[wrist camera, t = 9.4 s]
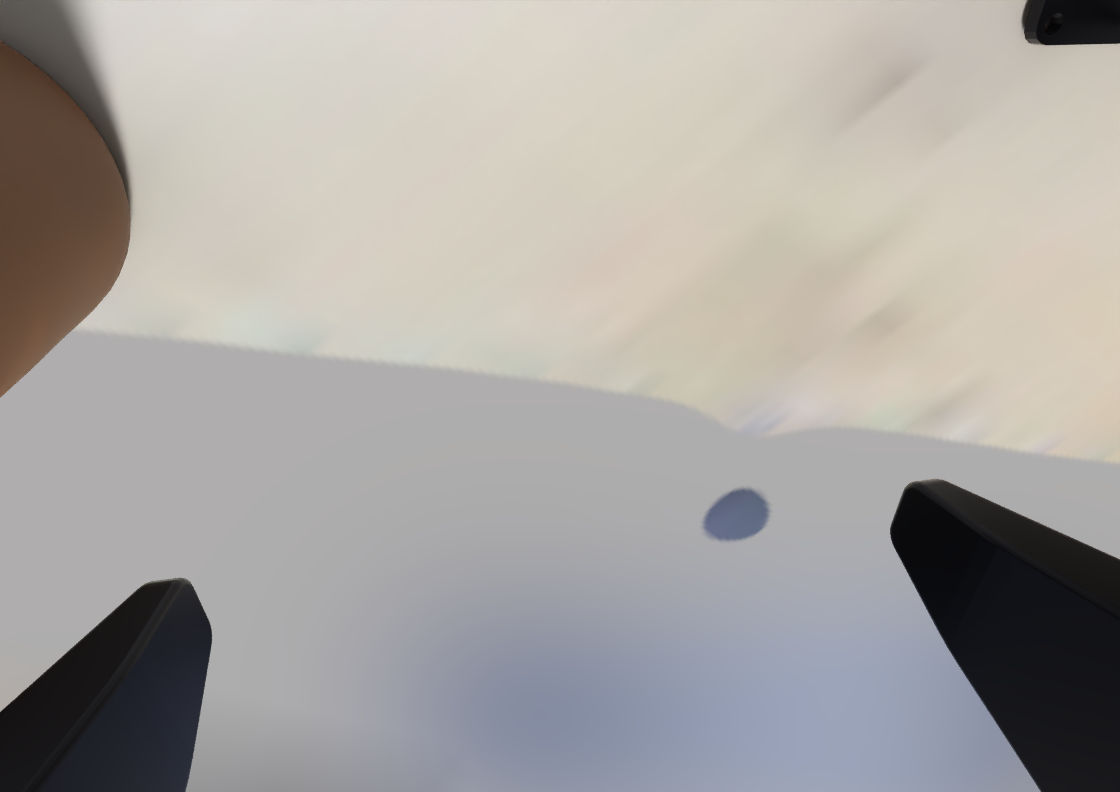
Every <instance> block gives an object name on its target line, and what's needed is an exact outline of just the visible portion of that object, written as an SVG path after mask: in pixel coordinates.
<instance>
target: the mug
mask: <svg viewBox="0 0 1120 792" xmlns="http://www.w3.org/2000/svg"><path fill="white" fill-rule="evenodd" d="M129 240H130V212H129V205H128V198H127V195H126V191H125V188H124V184H123V181H122V177H121V175H120V173H119V170H118V168H117V166H116V163H115V161H114V159H113V156H112V155H111V153H110V151H109V149H108V148H107V146H106V144H105V142H104V140H103V139H102V137H101V135H100V134H99V133H98V131H97V130H96V128H95V127H94V126H93V124H92V123H91V121H90V120H89V119H88V117H87V116H86V114H85V113H84V112H83V111H82V110H81V109H80V108H79V106H78V105H77V104H76V103H75V102H74V101H73V100H72V98H71V97H70V96H69V95H68V94H67V93H66V92H65V91H64V90H63V89H62V88H61V87H60V86H59V85H58V84H57V83H55V82H54V81H53V80H52V79H51V78H50V77H49V76H48V75H47V74H46V73H45V72H43V71H42V70H41V69H39V68H38V67H37V66H36V65H34V64H33V63H32V62H31V61H29V60H28V59H27V58H26V57H24V56H23V55H21V54H20V53H18V52H17V51H15V50H14V49H12V48H11V47H9V46H8V45H6V44H5V43H3V42H2V41H0V397H1V396H2V395H4V394H5V393H6V392H7V391H8V390H9V389H10V388H11V387H12V386H13V385H14V384H16V383H17V382H18V381H19V380H20V379H21V378H22V377H23V376H24V375H26V374H27V373H28V372H29V371H30V370H31V369H32V368H33V367H34V366H35V365H36V364H37V363H38V362H39V361H40V360H41V359H42V358H43V357H44V356H45V355H46V354H47V353H48V352H49V351H50V350H51V349H52V348H53V347H54V346H55V345H57V344H58V343H59V342H60V341H61V340H62V339H63V338H64V337H65V336H66V335H67V334H68V333H69V332H70V331H71V330H73V329H74V328H75V327H76V326H77V325H78V324H79V323H80V322H81V321H82V320H84V319H85V318H86V317H87V316H88V315H89V314H90V313H91V312H92V311H93V310H94V309H95V307H96V306H97V305H98V304H99V303H100V302H101V301H102V299H103V298H104V297H105V296H106V295H107V293H108V292H109V291H110V290H111V288H112V286H113V285H114V283H115V281H116V280H117V278H118V276H119V274H120V271H121V269H122V266H123V263H124V261H125V258H126V255H127V251H128V246H129Z"/></svg>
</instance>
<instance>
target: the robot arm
mask: <svg viewBox="0 0 1120 792" xmlns="http://www.w3.org/2000/svg"><path fill="white" fill-rule="evenodd" d="M1049 17H1051V21H1050V24H1049V26H1048V28H1047V29H1046V30H1045V24H1046V22H1047V20H1048V18H1049ZM1024 34H1025V39H1026V40H1027V41H1028V42H1029V43H1031V44H1036V45H1076V44H1118V43H1120V0H1033V3H1032V6H1031V9H1030V12H1029V15H1028V18H1027V21H1026V24H1025V30H1024ZM890 534H891V540H892V543H893V546H894V548H895V550H896V552H897V553H898V555H899V557H900V559H901V561H902V563H903V565H904V567H905V569H906V570H907V573H908V574H909V576H910V578H911V580H912V582H913V584H914V586H915V588H916V590H917V592H918V593H919V595H920V597H921V599H922V601H923V603H924V605H925V607H926V609H927V611H928V613H929V614H930V616H931V618H932V620H933V622H934V624H935V626H936V628H937V630H938V631H939V633H940V635H941V637H942V638H943V640H944V642H945V644H946V646H947V648H948V649H949V651H950V652H951V654H952V656H953V657H954V659H955V660H956V662H957V664H958V665H959V667H960V668H961V670H962V671H963V673H964V674H965V676H966V678H967V679H968V680H969V682H970V684H971V685H972V687H973V688H974V690H975V691H976V693H977V694H978V696H979V697H980V699H981V701H982V702H983V704H984V705H985V706H986V708H987V710H988V711H989V713H990V714H991V716H992V717H993V719H994V720H995V722H996V723H997V725H998V727H999V728H1000V730H1001V731H1002V732H1003V734H1004V736H1005V737H1006V739H1007V740H1008V742H1009V743H1010V745H1011V747H1012V748H1013V750H1014V751H1015V753H1016V754H1017V756H1018V757H1019V759H1020V760H1021V762H1022V763H1023V765H1024V767H1025V768H1026V769H1027V771H1028V773H1029V774H1030V776H1031V777H1032V779H1033V780H1034V782H1035V783H1036V785H1037V786H1038V788H1039V790H1040V791H1041V792H1120V559H1118V558H1116V557H1113V556H1111V555H1109V554H1106V553H1105V552H1102V551H1100V550H1098V549H1095V548H1093V547H1091V546H1089V545H1087V544H1084V543H1082V542H1080V541H1078V540H1076V539H1073V538H1071V537H1069V536H1067V535H1064V534H1062V533H1060V532H1058V531H1055V530H1053V529H1051V528H1049V527H1047V526H1044V525H1042V524H1040V523H1038V522H1036V521H1033V520H1031V519H1029V518H1027V517H1025V516H1022V515H1020V514H1018V513H1016V512H1014V511H1011V510H1009V509H1007V508H1005V507H1002V506H1000V505H998V504H996V503H994V502H991V501H989V500H987V499H985V498H982V497H980V496H978V495H976V494H973V493H971V492H969V491H967V490H965V489H962V488H960V487H958V486H956V485H953V484H951V483H949V482H947V481H944V480H940V479H931V480H924V481H916V482H912V483H909V484H908V485H907V486H906V487H905V489H904V491H903V493H902V496H901V499H900V502H899V504H898V507H897V510H896V513H895V515H894V518H893V521H892V524H891V528H890ZM211 644H212V631H211V625H210V622H209V620H208V618H207V616H206V613H205V611H204V609H203V607H202V605H201V603H200V600H199V598H198V596H197V594H196V592H195V590H194V587H193V586H192V584H191V582H190V581H188V580H187V579H185V578H174V579H167V580H159V581H152V582H149V583H146V584H144V585H143V586H141V587H140V588H139V589H137V590H136V591H135V592H134V593H133V594H132V595H131V596H130V597H128V598H127V599H126V600H125V601H124V602H123V603H122V604H121V605H120V606H118V607H117V608H116V609H115V610H114V611H113V612H112V613H111V614H109V615H108V616H107V617H106V618H105V619H104V620H103V621H102V622H100V623H99V624H98V625H97V626H96V627H95V628H94V629H93V630H91V631H90V632H89V633H88V634H87V635H86V636H85V637H84V638H83V639H81V640H80V641H79V642H78V643H77V644H76V645H75V646H74V647H73V648H71V649H70V650H69V651H68V652H67V653H66V654H65V655H64V656H62V658H60V659H59V660H58V661H57V662H56V663H55V664H53V665H52V666H51V667H50V668H49V669H48V670H47V671H46V672H45V673H44V674H42V675H41V676H40V677H39V678H38V679H37V680H36V681H35V682H33V684H31V685H30V686H29V687H28V688H27V689H25V690H24V691H23V692H22V693H21V694H20V695H19V696H18V697H17V698H16V699H15V700H13V701H12V702H11V703H10V704H9V705H8V706H6V707H5V708H4V709H3V710H2V711H1V712H0V792H185V791H186V787H187V783H188V779H189V774H190V769H191V764H192V759H193V752H194V747H195V741H196V735H197V729H198V723H199V717H200V710H201V705H202V699H203V693H204V687H205V681H206V675H207V668H208V663H209V657H210V651H211Z"/></svg>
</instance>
